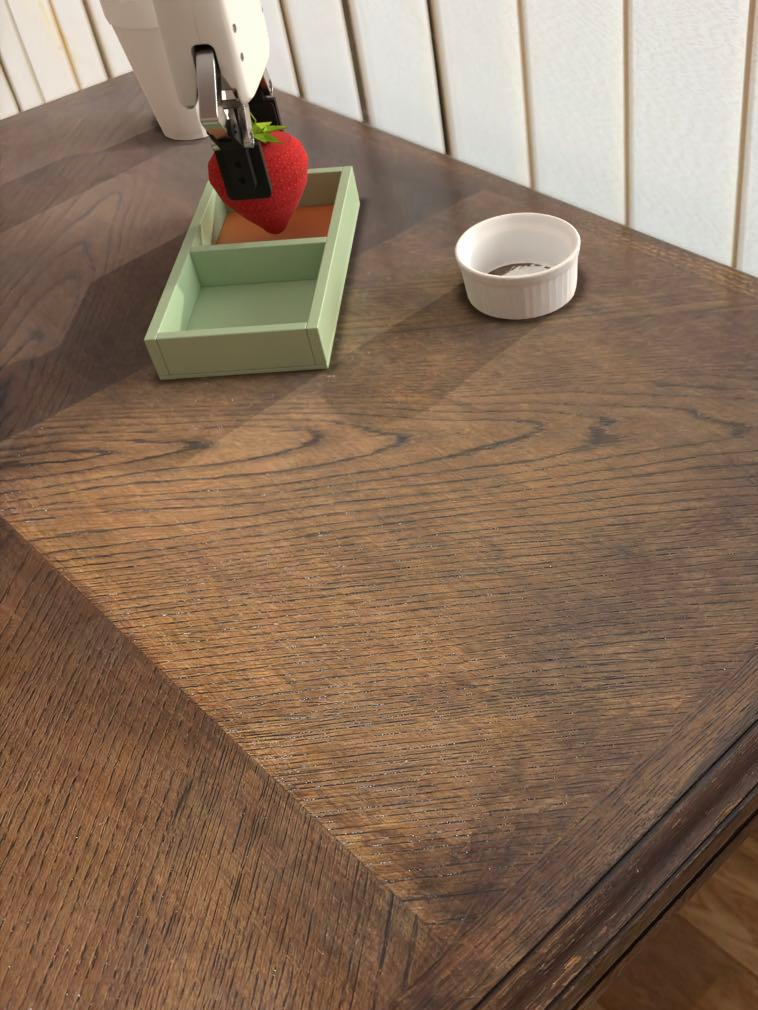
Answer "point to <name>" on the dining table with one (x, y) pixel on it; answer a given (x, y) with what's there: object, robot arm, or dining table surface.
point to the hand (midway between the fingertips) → (258, 171)
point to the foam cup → (153, 66)
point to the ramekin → (520, 287)
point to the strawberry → (285, 177)
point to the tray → (257, 286)
